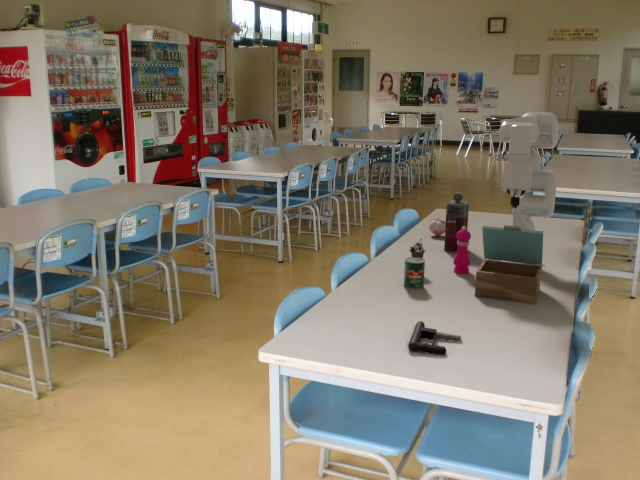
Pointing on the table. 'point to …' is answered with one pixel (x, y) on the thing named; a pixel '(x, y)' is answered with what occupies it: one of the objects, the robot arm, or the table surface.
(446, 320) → the table surface
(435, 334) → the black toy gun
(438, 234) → the decorative fruit
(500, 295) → the box
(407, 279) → the canned tomato
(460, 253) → the pepper mill
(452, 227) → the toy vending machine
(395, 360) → the table surface
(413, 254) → the sundae
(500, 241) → the lid
